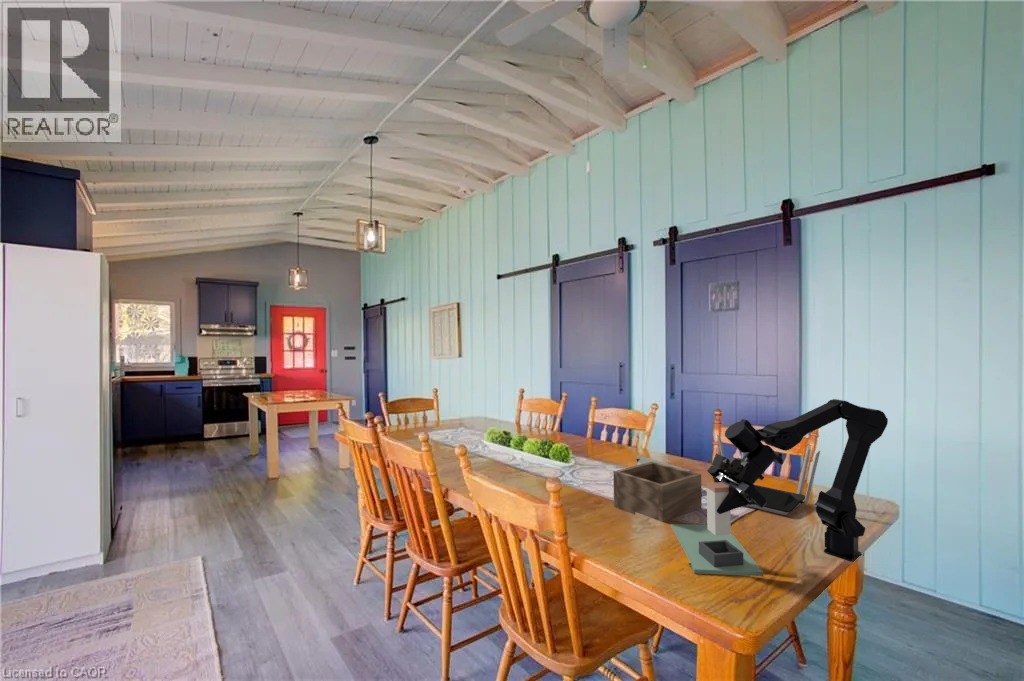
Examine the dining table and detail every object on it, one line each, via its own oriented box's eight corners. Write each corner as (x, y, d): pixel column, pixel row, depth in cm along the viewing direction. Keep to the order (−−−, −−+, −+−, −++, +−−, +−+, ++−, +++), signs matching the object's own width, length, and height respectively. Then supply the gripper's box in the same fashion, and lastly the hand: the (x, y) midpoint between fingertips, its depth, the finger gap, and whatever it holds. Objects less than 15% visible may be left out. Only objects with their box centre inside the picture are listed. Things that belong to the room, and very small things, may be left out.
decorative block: (641, 471, 204) (641, 453, 204) (700, 490, 178) (699, 470, 178) (628, 473, 201) (627, 455, 201) (685, 493, 174) (685, 473, 174)
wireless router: (701, 496, 171) (700, 440, 171) (729, 482, 186) (728, 431, 186) (807, 523, 146) (807, 457, 146) (830, 504, 161) (829, 445, 161)
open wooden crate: (701, 510, 157) (701, 474, 157) (662, 525, 146) (662, 486, 146) (652, 494, 174) (652, 461, 174) (613, 506, 162) (613, 471, 162)
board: (670, 527, 144) (669, 523, 144) (725, 528, 142) (725, 525, 142) (694, 573, 116) (694, 569, 116) (763, 576, 115) (763, 572, 115)
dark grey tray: (726, 551, 126) (726, 539, 126) (743, 564, 118) (743, 552, 118) (698, 553, 125) (698, 541, 125) (714, 567, 117) (714, 555, 117)
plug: (722, 528, 124) (721, 482, 124) (730, 534, 120) (729, 487, 120) (707, 529, 124) (706, 483, 124) (715, 535, 120) (714, 487, 120)
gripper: (713, 435, 132) (675, 477, 131) (754, 452, 113) (710, 501, 112) (741, 462, 132) (703, 504, 131) (786, 483, 114) (742, 532, 113)
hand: (713, 509), depth 122 cm, fingers closed on plug, 4 cm apart
